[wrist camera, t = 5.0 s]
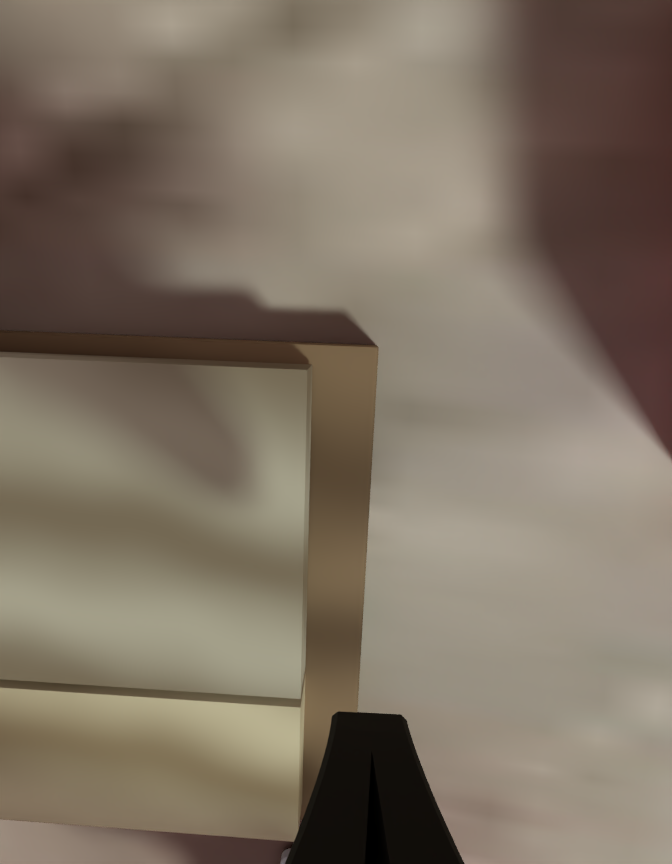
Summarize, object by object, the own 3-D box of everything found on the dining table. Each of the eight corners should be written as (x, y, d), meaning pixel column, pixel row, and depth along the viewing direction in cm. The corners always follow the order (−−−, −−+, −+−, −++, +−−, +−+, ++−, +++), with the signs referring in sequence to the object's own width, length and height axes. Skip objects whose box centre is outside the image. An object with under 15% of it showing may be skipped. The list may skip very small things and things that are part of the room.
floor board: (351, 786, 20) (350, 866, 17) (-48, 757, 20) (-115, 830, 17) (376, 345, 15) (381, 350, 12) (-136, 324, 16) (-247, 325, 13)
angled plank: (305, 665, 17) (300, 699, 15) (-64, 642, 17) (-104, 672, 16) (312, 364, 14) (307, 369, 12) (-128, 346, 14) (-182, 349, 13)
